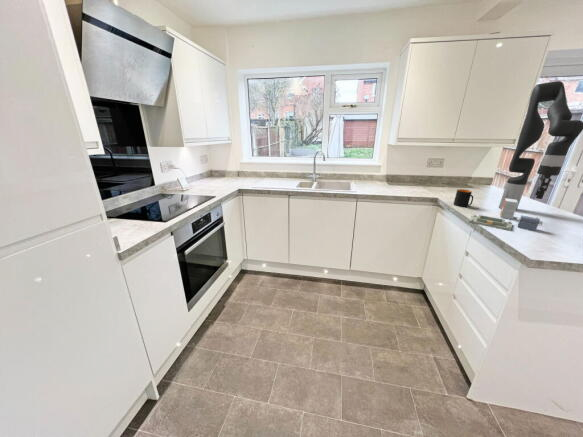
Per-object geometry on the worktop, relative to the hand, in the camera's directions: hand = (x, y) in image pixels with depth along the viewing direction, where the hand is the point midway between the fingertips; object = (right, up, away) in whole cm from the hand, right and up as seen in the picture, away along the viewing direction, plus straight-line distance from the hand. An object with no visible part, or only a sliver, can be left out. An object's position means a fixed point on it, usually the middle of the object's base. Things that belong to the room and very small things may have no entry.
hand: (538, 197), depth 118 cm
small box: (+4, -10, +23) cm, 25 cm away
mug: (-7, -2, +43) cm, 44 cm away
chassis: (-14, -14, +12) cm, 23 cm away
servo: (0, -16, +6) cm, 17 cm away
